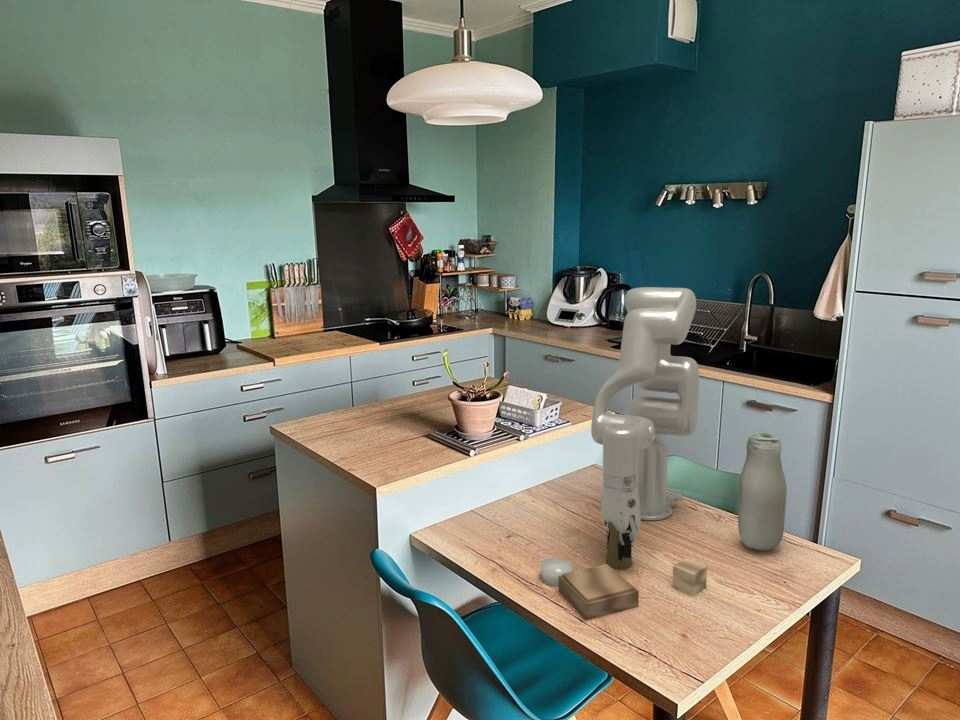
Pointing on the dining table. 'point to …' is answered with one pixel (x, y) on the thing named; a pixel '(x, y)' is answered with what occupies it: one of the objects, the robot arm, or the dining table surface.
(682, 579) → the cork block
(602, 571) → the walnut stand
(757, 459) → the glass bottle
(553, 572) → the pale grey dome
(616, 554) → the pepper shaker
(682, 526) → the dining table surface
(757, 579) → the dining table surface
